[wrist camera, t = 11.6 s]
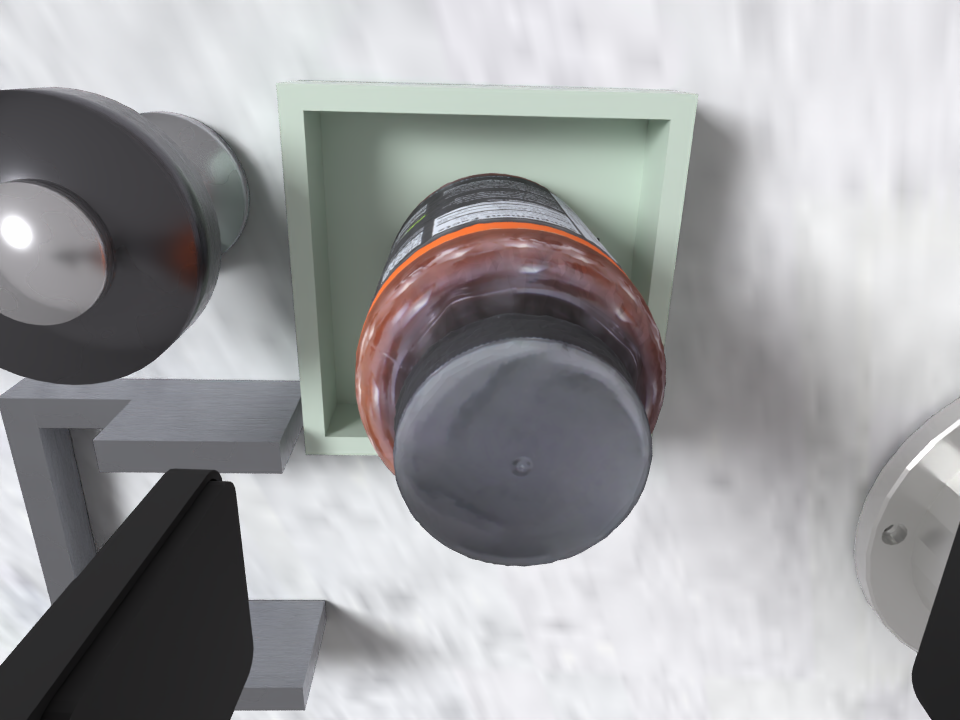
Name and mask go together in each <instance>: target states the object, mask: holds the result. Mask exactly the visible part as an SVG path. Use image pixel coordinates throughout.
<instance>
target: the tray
mask: <svg viewBox="0 0 960 720" xmlns="http://www.w3.org/2000/svg"><path fill="white" fill-rule="evenodd" d="M276 88H277V101H278V113H279V126H280V138H281V151H282V164H283V176H284V189H285V201H286V214H287V226H288V239H289V251H290V264H291V276H292V289H293V301H294V314H295V326H296V339H297V352H298V364H299V377H300V389H301V402H302V414H303V427H304V439H305V452H306V455H378V454H377V452H376V451H375V449H374V447H373V446H372V444H371V442H370V440H369V438H368V435H367V433H366V431H365V428H364V426H363V423H362V420H361V417H360V414H359V410H358V404H357V400H356V391H355V368H356V352H357V347H358V343H359V339H360V335H361V332H362V329H363V325H364V323H365V319H366V316H367V313H368V310H369V307H370V304H371V301H372V299H373V297H374V294H375V292H376V288H377V286H378V283H379V280H380V278H381V275H382V272H383V269H384V267H385V265H386V262H387V260H388V257H389V254H390V251H391V248H392V245H393V243H394V241H395V239H396V236H397V234H398V233H399V231H400V229H401V227H402V225H403V223H404V222H405V221H406V219H407V218H408V217H409V215H410V214H411V213H412V211H413V210H414V209H415V208H416V207H417V206H418V205H419V203H420V202H422V201H423V200H424V199H425V198H426V197H428V196H429V195H430V194H431V193H433V192H434V191H436V190H437V189H439V188H440V187H441V186H443V185H445V184H447V183H449V182H453V181H455V180H457V179H460V178H464V177H467V176H472V175H477V174H485V173H499V174H508V175H514V176H519V177H523V178H526V179H529V180H531V181H533V182H536V183H538V184H539V185H541V186H544V187H545V188H547V189H548V190H549V191H550V192H552V193H553V194H555V195H556V196H557V197H559V198H560V199H561V200H562V201H563V202H565V203H566V204H567V205H568V206H569V207H570V208H571V209H572V210H573V211H574V213H575V214H577V216H578V217H579V218H580V219H581V220H582V221H583V223H584V224H585V225H586V226H587V227H588V229H589V230H590V231H591V232H592V234H593V235H594V236H595V237H596V238H599V240H600V243H601V244H602V245H603V246H604V247H605V249H606V250H607V251H608V253H609V254H610V255H611V256H612V257H613V258H614V259H615V260H616V262H617V263H618V264H619V265H620V266H621V267H622V269H623V271H624V272H625V274H626V275H627V277H628V278H629V279H630V280H631V282H632V283H633V284H634V285H635V287H636V288H637V289H638V291H639V292H640V294H641V295H642V297H643V298H644V300H645V302H646V304H647V306H648V307H649V310H650V312H651V314H652V316H653V319H654V321H655V323H656V326H657V328H658V330H659V332H660V336H661V340H662V344H663V346H664V345H665V338H666V330H667V323H668V316H669V308H670V301H671V293H672V286H673V279H674V271H675V264H676V256H677V249H678V241H679V234H680V227H681V219H682V212H683V204H684V197H685V190H686V182H687V175H688V167H689V160H690V153H691V145H692V138H693V130H694V123H695V115H696V108H697V101H698V94H693V93H686V92H678V91H671V90H650V89H612V88H574V87H536V86H498V85H460V84H421V83H383V82H345V81H307V80H299V81H291V82H283V83H276ZM652 434H653V433H652ZM652 434H651V436H652Z"/></svg>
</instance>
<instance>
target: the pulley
mask: <svg viewBox="0 0 960 720" xmlns="http://www.w3.org/2000/svg"><path fill="white" fill-rule="evenodd" d="M249 204H250V200H249V188H248V183H247V179H246V176H245V173H244V170H243V168H242V166H241V163H240V162H239V160H238V158H237V156H236V155H235V153H234V152H233V150H232V149H231V148H230V146H229V145H228V144H227V143H226V142H225V141H224V140H223V139H222V138H221V137H220V136H219V135H218V134H217V133H216V132H214V131H213V130H212V129H210V128H209V127H207V126H206V125H204V124H203V123H201V122H199V121H197V120H195V119H193V118H190V117H188V116H185V115H182V114H177V113H173V112H163V111H158V112H147V113H141V114H139V113H138V112H136V111H135V110H133V109H131V108H129V107H127V106H125V105H123V104H121V103H119V102H117V101H115V100H112V99H110V98H107V97H104V96H101V95H98V94H96V93H91V92H87V91H83V90H78V89H71V88H60V87H46V88H28V89H12V90H0V368H2V369H4V370H7V371H9V372H12V373H14V374H17V375H20V376H23V377H27V378H30V379H33V380H37V381H42V382H48V383H53V384H64V385H88V384H97V383H103V382H108V381H112V380H115V379H119V378H122V377H125V376H127V375H130V374H132V373H134V372H136V371H138V370H140V369H142V368H144V367H145V366H147V365H148V364H150V363H151V362H153V361H154V360H155V359H157V358H158V357H159V356H160V355H161V354H162V353H163V352H164V351H165V350H167V349H168V348H169V347H170V346H171V345H172V344H173V343H174V342H175V341H176V340H177V339H178V338H179V337H180V336H181V335H182V334H183V333H184V332H185V331H186V330H187V329H188V328H189V327H190V326H191V325H192V324H193V323H194V322H195V321H196V319H197V318H198V317H199V316H200V314H201V313H202V312H203V310H204V309H205V307H206V305H207V303H208V302H209V300H210V298H211V296H212V293H213V291H214V288H215V286H216V283H217V279H218V274H219V270H220V262H221V255H222V254H223V253H225V252H226V251H227V250H228V249H229V248H230V247H231V246H232V245H233V244H234V243H235V242H236V241H237V239H238V238H239V236H240V235H241V233H242V231H243V229H244V226H245V224H246V221H247V217H248V213H249Z"/></svg>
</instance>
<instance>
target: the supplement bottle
mask: <svg viewBox="0 0 960 720" xmlns="http://www.w3.org/2000/svg"><path fill="white" fill-rule="evenodd" d="M665 375H666V360H665V354H664V346H663V344H662V340H661V336H660V332H659V330H658V328H657V326H656V323H655V321H654V319H653V316H652V314H651V312H650V310H649V307H648V306H647V304H646V302H645V300H644V298H643V297H642V295H641V294H640V292H639V291H638V289H637V288H636V287H635V285H634V284H633V283H632V282H631V280H630V279H629V278H628V277H627V275H626V274H625V272H624V271H623V269H622V267H621V266H620V265H619V264H618V263H617V262H616V260H615V259H614V258H613V257H612V256H611V255H610V254H609V253H608V251H607V250H606V249H605V247H604V246H603V245H602V244H601V243H600V240H599V238H596V237H595V236H594V235H593V234H592V232H591V231H590V230H589V229H588V227H587V226H586V225H585V224H584V223H583V221H582V220H581V219H580V218H579V217H578V216H577V214H575V213H574V211H573V210H572V209H571V208H570V207H569V206H568V205H567V204H566V203H565V202H563V201H562V200H561V199H560V198H559V197H557V196H556V195H555V194H553V193H552V192H550V191H549V190H548V189H547V188H545V187H544V186H541V185H539V184H538V183H536V182H533V181H531V180H529V179H526V178H523V177H519V176H514V175H508V174H499V173H485V174H477V175H472V176H467V177H464V178H460V179H457V180H455V181H453V182H449V183H447V184H445V185H443V186H441V187H440V188H439V189H437V190H436V191H434V192H433V193H431V194H430V195H429V196H428V197H426V198H425V199H424V200H423V201H422V202H420V203H419V205H418V206H417V207H416V208H415V209H414V210H413V211H412V213H411V214H410V215H409V217H408V218H407V219H406V221H405V222H404V223H403V225H402V227H401V229H400V231H399V233H398V234H397V236H396V239H395V241H394V243H393V245H392V248H391V251H390V254H389V257H388V260H387V262H386V265H385V267H384V269H383V272H382V275H381V278H380V280H379V283H378V286H377V288H376V292H375V294H374V297H373V299H372V301H371V304H370V307H369V310H368V313H367V316H366V319H365V323H364V325H363V329H362V332H361V335H360V339H359V343H358V347H357V352H356V368H355V391H356V400H357V404H358V410H359V414H360V417H361V420H362V423H363V426H364V428H365V431H366V433H367V435H368V438H369V440H370V442H371V444H372V446H373V447H374V449H375V451H376V452H377V454H378V456H379V457H380V458H381V460H382V461H383V462H384V464H385V465H386V466H387V468H388V469H389V470H390V471H391V472H392V473H393V474H394V475H395V476H396V481H397V484H398V487H399V490H400V492H401V495H402V497H403V499H404V501H405V503H406V505H407V507H408V509H409V510H410V512H411V514H412V515H413V517H414V518H415V519H416V521H418V522H419V523H420V525H421V526H422V527H423V528H424V529H425V530H426V531H427V532H428V533H429V534H430V535H431V536H432V537H434V538H435V539H436V540H438V541H439V542H441V543H442V544H443V545H445V546H446V547H448V548H450V549H452V550H454V551H456V552H458V553H460V554H462V555H465V556H467V557H469V558H471V559H475V560H480V561H483V562H486V563H493V564H500V565H506V566H514V565H515V566H531V565H539V564H547V563H552V562H555V561H557V560H562V559H567V558H570V557H573V556H575V555H577V554H579V553H581V552H583V551H585V550H587V549H588V548H590V547H592V546H593V545H595V544H597V543H598V542H600V541H601V540H603V539H605V538H606V537H607V536H608V535H609V534H610V533H611V532H612V531H613V530H614V529H616V528H617V527H618V526H619V525H620V524H621V523H622V522H623V521H624V520H625V518H626V517H627V516H628V515H629V514H630V512H631V511H632V509H633V508H634V506H635V505H636V503H637V502H638V500H639V498H640V496H641V494H642V492H643V490H644V487H645V484H646V481H647V478H648V474H649V470H650V465H651V460H652V436H651V434H652V433H653V430H654V427H655V425H656V422H657V419H658V416H659V413H660V410H661V407H662V404H663V398H664V389H665V385H666V376H665Z"/></svg>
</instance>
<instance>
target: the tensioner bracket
mask: <svg viewBox="0 0 960 720" xmlns="http://www.w3.org/2000/svg"><path fill="white" fill-rule="evenodd" d="M0 411H1V415H2V419H3V422H4V426H5V430H6V434H7V438H8V441H9V445H10V449H11V453H12V457H13V460H14V464H15V468H16V472H17V476H18V479H19V483H20V487H21V491H22V495H23V498H24V502H25V506H26V510H27V514H28V517H29V521H30V525H31V529H32V533H33V536H34V540H35V544H36V548H37V552H38V555H39V559H40V563H41V567H42V571H43V574H44V578H45V582H46V586H47V590H48V593H49V597H50V601H51V605H52V604H53V603H54V602H55V601H56V600H57V598H58V597H59V596H60V595H61V594H62V593H63V591H64V590H65V589H66V588H67V587H68V586H69V584H70V583H71V582H72V581H73V580H74V579H75V578H76V577H77V576H78V575H79V574H80V573H81V572H82V571H83V569H84V568H85V567H86V566H87V565H88V564H89V562H90V561H91V560H92V559H93V558H94V556H95V555H96V550H95V545H94V541H93V536H92V532H91V527H90V523H89V518H88V514H87V510H86V505H85V501H84V496H83V492H82V487H81V483H80V478H79V474H78V469H77V465H76V460H75V456H74V452H73V447H72V443H71V438H70V434H69V429H68V428H102V429H103V430H102V431H101V432H100V433H99V434H98V435H97V436H96V437H95V438H94V439H93V443H94V448H95V453H96V458H97V462H98V467H99V472H155V473H166V472H167V471H168V470H169V469H174V468H177V469H206V470H216V471H218V472H219V473H277V474H282V473H283V471H284V469H285V466H286V464H287V462H288V459H289V457H290V455H291V452H292V450H293V448H294V445H295V443H296V441H297V438H298V436H299V434H300V432H301V429H302V427H303V414H302V402H301V389H300V381H256V380H175V379H115V380H112V381H108V382H103V383H97V384H88V385H64V384H53V383H48V382H42V381H37V380H33V379H30V378H24V379H23V380H21V381H20V382H19V383H17V384H16V385H14V386H13V387H12V388H10V389H9V390H8V391H6V392H5V393H3V394H2V395H1V396H0ZM248 601H249V610H250V618H251V627H252V635H253V646H254V651H253V660H252V666H251V670H250V673H249V676H248V678H247V681H246V683H245V686H244V688H243V690H242V693H241V695H240V697H239V700H238V702H237V705H236V707H235V709H234V710H305V708H306V704H307V700H308V696H309V691H310V687H311V683H312V679H313V675H314V670H315V666H316V662H317V658H318V654H319V650H320V645H321V641H322V637H323V633H324V629H325V625H326V612H325V601H280V600H248Z"/></svg>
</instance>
